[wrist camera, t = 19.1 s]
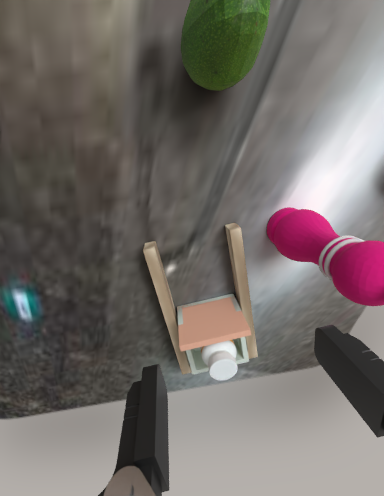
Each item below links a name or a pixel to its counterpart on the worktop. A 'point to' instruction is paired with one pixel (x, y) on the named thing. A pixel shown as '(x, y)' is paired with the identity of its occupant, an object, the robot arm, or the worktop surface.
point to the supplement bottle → (220, 359)
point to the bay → (239, 281)
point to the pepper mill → (331, 253)
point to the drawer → (211, 328)
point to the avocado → (222, 40)
